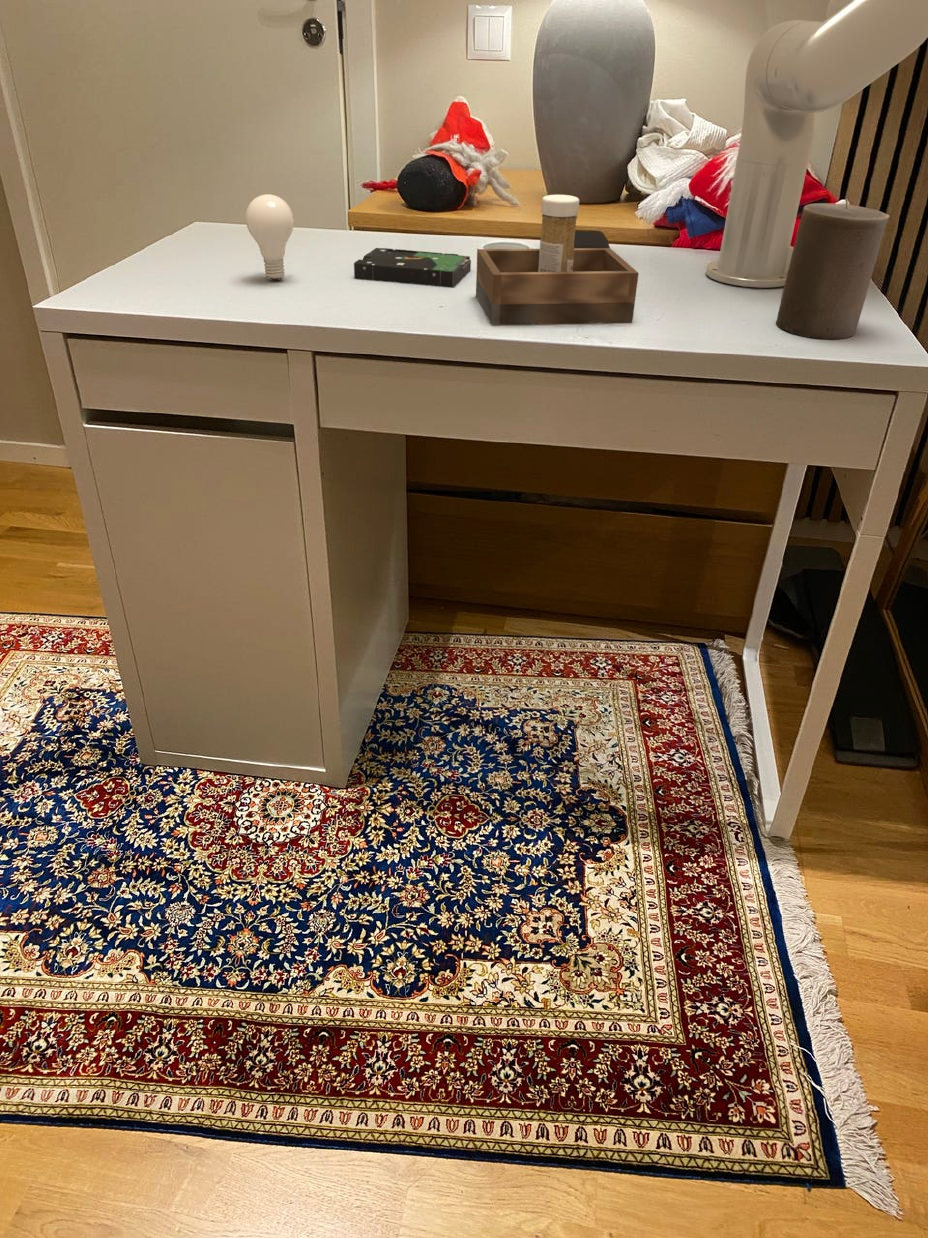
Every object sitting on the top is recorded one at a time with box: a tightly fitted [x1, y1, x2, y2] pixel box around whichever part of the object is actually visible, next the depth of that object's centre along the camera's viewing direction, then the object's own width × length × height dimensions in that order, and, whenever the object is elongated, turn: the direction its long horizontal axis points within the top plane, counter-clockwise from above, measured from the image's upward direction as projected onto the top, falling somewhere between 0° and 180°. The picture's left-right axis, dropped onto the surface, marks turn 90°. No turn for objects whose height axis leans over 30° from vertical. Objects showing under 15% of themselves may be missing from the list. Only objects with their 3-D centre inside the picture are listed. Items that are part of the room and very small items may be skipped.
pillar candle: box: [775, 198, 890, 340], centre depth 109 cm, size 10×10×15 cm
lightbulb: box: [245, 193, 295, 282], centre depth 122 cm, size 6×6×11 cm
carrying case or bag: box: [574, 229, 611, 249], centre depth 141 cm, size 11×3×15 cm
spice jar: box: [538, 194, 580, 272], centre depth 113 cm, size 5×5×14 cm
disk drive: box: [353, 247, 472, 288], centre depth 129 cm, size 10×3×15 cm
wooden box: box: [475, 247, 639, 326], centre depth 115 cm, size 18×13×6 cm
